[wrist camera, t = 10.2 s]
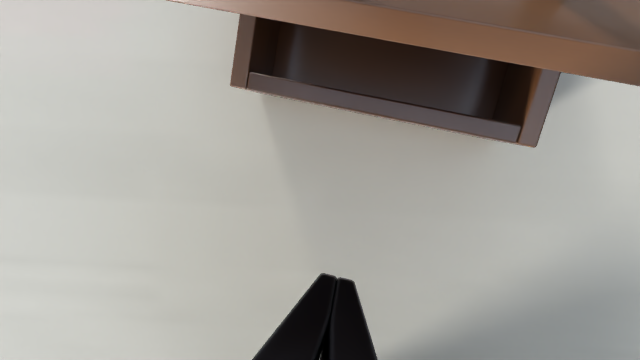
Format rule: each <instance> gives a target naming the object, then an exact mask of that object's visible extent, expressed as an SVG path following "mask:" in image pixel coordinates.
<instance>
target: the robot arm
mask: <svg viewBox="0 0 640 360" xmlns="http://www.w3.org/2000/svg"><path fill="white" fill-rule="evenodd" d="M319 359H320V360H377V356H376V353H375V349H374V346H373V343H372V339H371V336H370V333H369V329H368V326H367V323H366V319H365V316H364V313H363V309H362V306H361V303H360V299H359V296H358V293H357V289H356V286H355V283H354V281H352V280H349V279H345V278H341V277H340V278H338V279H337V278H336V276H333V275H329V274H325V273H322V274H320V275H319V276H318V278H317V279H316V280H315V281H314V283H313V284H312V285H311V286H310V288H309V289H308V290H307V291H306V293H305V294H304V295H303V296H302V298H301V299H300V300H299V301H298V303H297V304H296V305H295V306H294V308H293V309H292V310H291V311H290V313H289V314H288V315H287V317H286V318H285V319H284V320H283V322H282V323H281V324H280V325H279V327H278V328H277V329H276V330H275V332H274V333H273V334H272V335H271V337H270V338H269V339H268V340H267V342H266V343H265V344H264V345H263V347H262V348H261V349H260V350H259V352H258V353H257V354H256V355H255V357H254V358H253V359H252V360H319Z"/></svg>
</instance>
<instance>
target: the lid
mask: <svg viewBox="0 0 640 360" xmlns="http://www.w3.org/2000/svg"><path fill="white" fill-rule="evenodd" d="M167 1H173V2H178V3H184V4H189V5H195V6H200V7H206V8H211V9H217V10H222V11H228V12H233V13H239V14H244V15H250V16H255V17H261V18H266V19H272V20H277V21H283V22H288V23H294V24H299V25H305V26H310V27H316V28H322V29H327V30H333V31H338V32H344V33H349V34H355V35H360V36H366V37H371V38H377V39H382V40H388V41H393V42H399V43H404V44H410V45H415V46H421V47H426V48H432V49H437V50H443V51H448V52H454V53H459V54H465V55H470V56H476V57H481V58H487V59H492V60H498V61H503V62H509V63H514V64H520V65H526V66H531V67H537V68H542V69H548V70H553V71H559V72H564V73H570V74H575V75H581V76H586V77H592V78H597V79H603V80H608V81H614V82H619V83H625V84H630V85H636V86H640V0H167Z"/></svg>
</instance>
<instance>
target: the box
mask: <svg viewBox="0 0 640 360" xmlns="http://www.w3.org/2000/svg"><path fill="white" fill-rule="evenodd" d="M560 73H561V72H559V71H553V70H548V69H542V68H537V67H531V66H526V65H520V64H514V63H509V62H503V61H498V60H492V59H487V58H481V57H476V56H470V55H465V54H459V53H454V52H448V51H443V50H437V49H432V48H426V47H421V46H415V45H410V44H404V43H399V42H393V41H388V40H382V39H377V38H371V37H366V36H360V35H355V34H349V33H344V32H338V31H333V30H327V29H322V28H316V27H310V26H305V25H299V24H294V23H288V22H283V21H277V20H272V19H266V18H261V17H255V16H250V15H244V14H240V18H239V25H238V32H237V40H236V47H235V54H234V61H233V68H232V75H231V83H230V86H232V87H236V88H240V89H244V90H249V91H253V92H257V93H262V94H266V95H271V96H276V97H281V98H286V99H291V100H296V101H301V102H306V103H311V104H316V105H321V106H326V107H331V108H336V109H341V110H346V111H350V112H355V113H360V114H365V115H370V116H375V117H380V118H385V119H390V120H395V121H400V122H405V123H410V124H415V125H420V126H425V127H430V128H434V129H439V130H444V131H449V132H454V133H459V134H464V135H469V136H474V137H479V138H484V139H489V140H494V141H499V142H505V143H511V144H516V145H522V146H528V147H536V146H537V143H538V140H539V137H540V134H541V131H542V128H543V125H544V122H545V119H546V116H547V113H548V110H549V107H550V103H551V100H552V97H553V94H554V91H555V88H556V85H557V82H558V79H559V76H560Z"/></svg>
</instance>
